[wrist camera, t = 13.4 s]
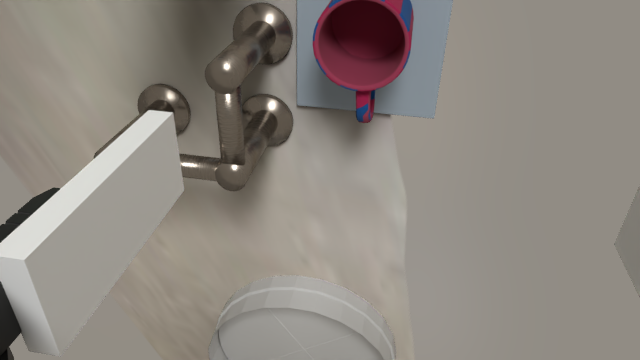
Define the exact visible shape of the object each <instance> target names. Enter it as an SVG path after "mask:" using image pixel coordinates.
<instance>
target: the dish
mask: <svg viewBox="0 0 640 360" xmlns="http://www.w3.org/2000/svg"><path fill="white" fill-rule="evenodd" d="M208 350H209V360H396V347H395V341H394V336H393V333H392V331H391V329H390V328H389V326H388V324H387V322H386V320H385V319H384V317H383V316H382V315H381V314H380V313H379V312H378V311H377V310H376V309H375V308H374V307H373V306H372V305H371V304H370V303H369V302H368V301H366V300H364V299H363V298H361V297H360V296H358V295H357V294H355V293H353V292H352V291H350V290H349V289H347V288H344V287H341V286H339V285H336V284H334V283H331V282H328V281H326V280H323V279H317V278H311V277H305V276H299V275H292V276H272V277H268V278H264V279H260V280H257V281H253V282H251V283H249V284H248V285H246V286H244V287H243V288H241V289H239V290H238V291H236V292H235V293H234V295H233V296H232V297H231V298H230V299H229V301H228V302H227V303H226V304H225V306H224V309H223V311H222V313H221V315H220V317H219V320H218V323H217V326H216V329H215V332H214V334H213V337H212V340H211V343H210V346H209V349H208Z"/></svg>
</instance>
